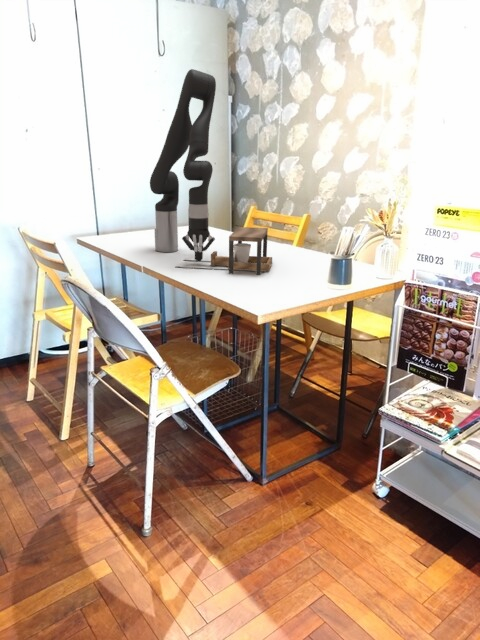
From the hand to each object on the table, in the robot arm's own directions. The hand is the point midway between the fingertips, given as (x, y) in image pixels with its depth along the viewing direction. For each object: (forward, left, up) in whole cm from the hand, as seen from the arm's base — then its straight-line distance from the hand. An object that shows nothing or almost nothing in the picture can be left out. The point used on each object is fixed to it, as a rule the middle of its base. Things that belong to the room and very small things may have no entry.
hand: (198, 261), depth 194 cm
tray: (+17, -1, -1) cm, 17 cm away
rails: (+9, -1, -1) cm, 10 cm away
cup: (+16, +1, -2) cm, 16 cm away
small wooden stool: (+20, -1, -1) cm, 20 cm away
